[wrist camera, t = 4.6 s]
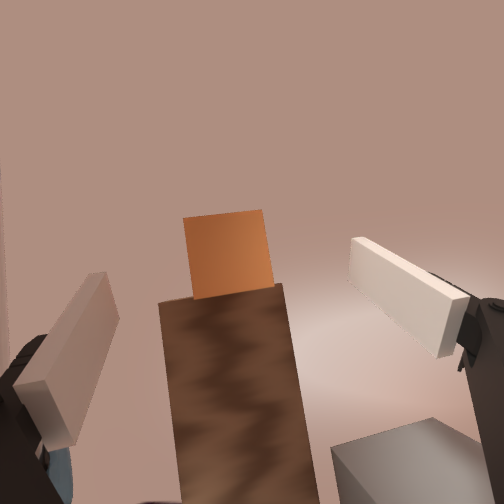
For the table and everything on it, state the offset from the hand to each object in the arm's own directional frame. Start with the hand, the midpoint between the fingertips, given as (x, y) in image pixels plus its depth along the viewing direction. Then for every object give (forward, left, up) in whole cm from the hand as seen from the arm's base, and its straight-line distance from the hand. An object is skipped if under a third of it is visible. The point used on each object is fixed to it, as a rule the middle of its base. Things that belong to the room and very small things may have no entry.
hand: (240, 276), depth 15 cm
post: (-1, +13, -31) cm, 33 cm away
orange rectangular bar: (-1, +10, -1) cm, 10 cm away
